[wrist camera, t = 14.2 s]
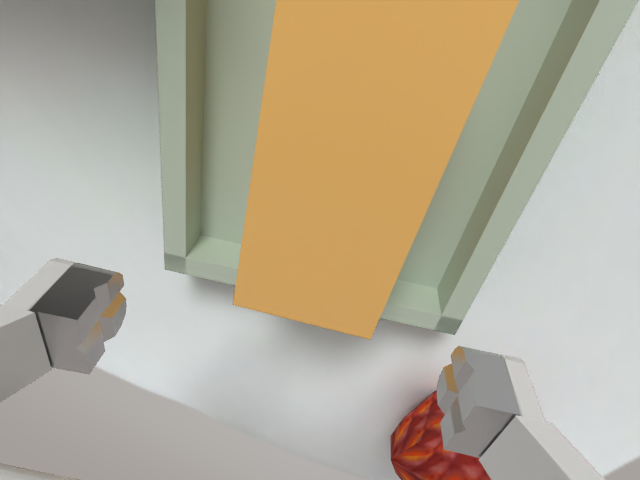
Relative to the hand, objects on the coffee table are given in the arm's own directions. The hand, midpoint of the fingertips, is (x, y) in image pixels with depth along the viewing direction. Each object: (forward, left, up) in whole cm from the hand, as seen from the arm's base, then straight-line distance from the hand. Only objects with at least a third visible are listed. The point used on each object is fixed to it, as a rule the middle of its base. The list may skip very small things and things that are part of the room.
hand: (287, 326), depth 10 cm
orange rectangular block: (+1, +3, -9) cm, 10 cm away
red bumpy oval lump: (+11, -15, -10) cm, 21 cm away
